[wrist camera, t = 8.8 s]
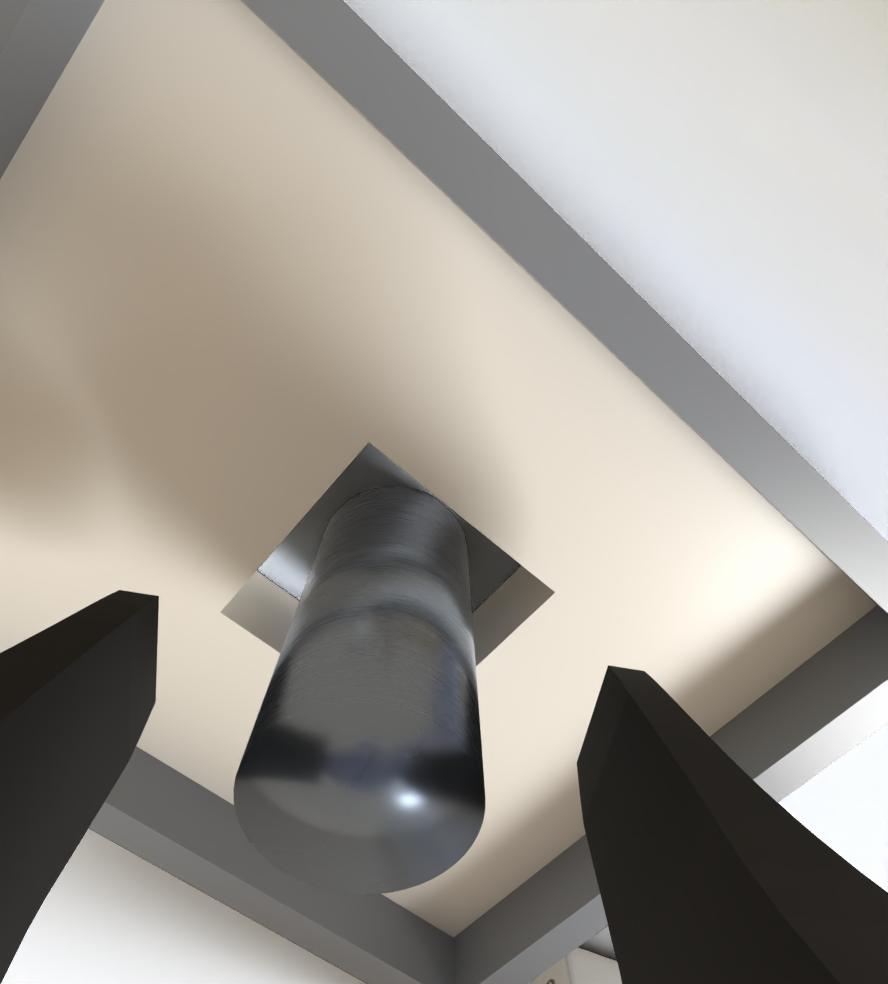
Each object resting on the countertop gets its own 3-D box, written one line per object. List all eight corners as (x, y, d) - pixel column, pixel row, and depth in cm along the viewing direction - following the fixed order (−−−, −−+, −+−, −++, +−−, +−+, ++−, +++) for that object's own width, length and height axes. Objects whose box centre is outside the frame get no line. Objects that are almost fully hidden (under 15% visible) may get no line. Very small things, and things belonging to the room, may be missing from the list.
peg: (330, 475, 15) (242, 684, 8) (480, 499, 15) (509, 722, 8) (314, 605, 16) (225, 878, 9) (453, 625, 16) (460, 907, 10)
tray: (186, -122, 11) (78, -264, 8) (876, 554, 15) (993, 646, 12) (-180, 500, 15) (-354, 581, 12) (454, 895, 19) (457, 1034, 16)
